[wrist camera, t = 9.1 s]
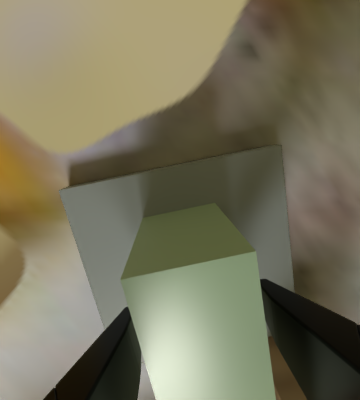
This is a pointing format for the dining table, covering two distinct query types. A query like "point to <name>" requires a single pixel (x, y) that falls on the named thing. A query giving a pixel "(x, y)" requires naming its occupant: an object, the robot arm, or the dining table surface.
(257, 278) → the sage brick
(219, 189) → the slate board
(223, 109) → the dining table surface
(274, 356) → the walnut brick
